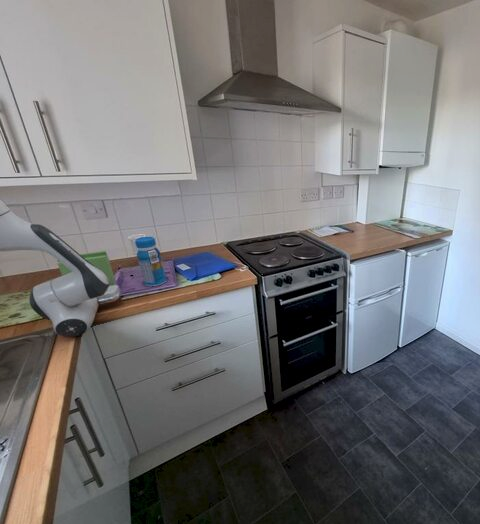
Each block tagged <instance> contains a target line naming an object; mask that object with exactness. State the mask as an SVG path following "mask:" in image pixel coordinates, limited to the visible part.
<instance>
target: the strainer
mask: <svg viewBox="0 0 480 524" xmlns="http://www.w3.org/2000/svg"><path fill="white" fill-rule="evenodd" d="M141 237H147V236H146V234H144V233H138V234H133V235H129V236H127V239H128V241H130V244H131V247H132V251H131V253H132V255H134V256H137V252H138V250H139V249H138V248H137V246H136V243H135V240H136V239H138V238H141Z"/></svg>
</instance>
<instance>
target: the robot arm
mask: <svg viewBox="0 0 480 524" xmlns="http://www.w3.org/2000/svg"><path fill="white" fill-rule="evenodd" d="M15 251H37V252H39V251H40V252H43V253H46V254H49V256H52V257H53V258H54V259H55V260H56V261H57V260H58V261H59V262H61V263H62V264H63V265H65V266H66V267H67V268H68V269H70V270H71V271H72V272H71V273H68V274H66V275H63V276H62V275H61V276H58V277H56V278H52V279H50V280H47V281H45V282H42V283H39V284H37V285H34V286H33V287H32V288H31V291H30V293H29V299H28V301H29V302H28V303H29V305H30V307H31V309H32V310H33V311H34V312H35V313H36V314H37V315H38V316H40V317H41V318H44V319H45V320H48V321H49V322H51V324H52V327H53V331H54V332H55V334H57V336H60V337H62V338H76V337H79V336H82V335H84V334H85V333H86V332H88V331H89V329H90V328H91V327H92V325H93V323H94V321H95V318H96V314H97V311H98V309H99V306H100V305H103V304H107V303H111V302H115V301H117V300H118V299H119V298H120V296H121V294H122V291H121V288H120V286H119V285H118V284H117V285H113V286H109V284H110V283H109V280H108V278H107V276H106V275H105V274H104V273H103V272H102V271H101V270H100V269H98V268H97V267H96V266H94V265H93V264H91V263H90V262H88V261H87V260H86V259H85V258H83V257H82V256H81V255H80V254H81V253H79V252H78V251H76V250H75V248H73V247H72V246H70V245H69V244H68V243H67V242H66V241H64V240H63V239H62V238H60V236H58V235H57V234H56V233H55V232H53V231H52V230H50V229H49V228H48V227H46V226H44V225H42V224H38V223H31V222H29V221H27V220H25V219H23V218H21V217H20V216H18V215H17V214H15V213H14V212H13V211H12V209H10V208H9V207H8V206H7V204H5V203H4V202H3V201H2V200H1V199H0V252H15ZM58 261H57V262H58Z"/></svg>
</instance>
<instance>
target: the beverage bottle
mask: <svg viewBox="0 0 480 524" xmlns="http://www.w3.org/2000/svg"><path fill="white" fill-rule="evenodd" d="M137 238H138V239H136V240H134V241H135V243H136V246H137V248H138V249H139V250H138V252H137V255H136V258H137V259H138V260H137V263H138V265H139V266H140V267H139V268H140V271H141V274H142V278H143V284H144V286H146V287H150V288H152V286H153V287H158V286H161V285H164V284H165V283H167V277H166V272H165V269H164V268H165V267H164V265H163V258H162V256H161V251H160V250H159V248H157V242H156V239H155V237H154V236H146V237H141V238H139V237H137Z"/></svg>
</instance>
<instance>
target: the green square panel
mask: <svg viewBox="0 0 480 524" xmlns="http://www.w3.org/2000/svg"><path fill="white" fill-rule="evenodd" d="M79 254H80V255H81V256H82V257H83V258H85V259H86V260H87V261H88V262H90V263H91V264H93V265H94V266H96V267H97V268H98V269H100V270H101V271H102V272H103V273H104V274H105V275H106V276H107V278H108V280H109V283H110V284H109V286H113V285H118V284H117V281H116V278H115V275H114V272H113V269H112V265H111V261H110V259H109V256H108V253H107V251H106V250H102V251H95V252H89V253H88V252H87V253H79ZM56 261H57V266H58V269H59V271H60V273H61V276H63V275H66V274H68V273H71V272H72V271H71V270H70V269H68V268H67V267H66V266H65V265H63V264H62V263H61V262H59V261H58V260H57V259H56Z"/></svg>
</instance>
